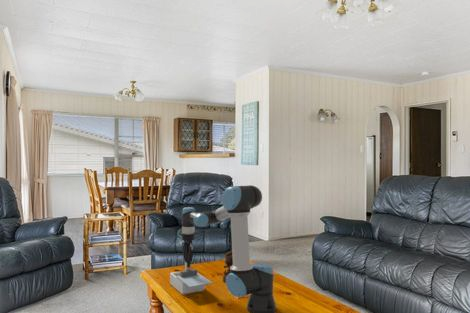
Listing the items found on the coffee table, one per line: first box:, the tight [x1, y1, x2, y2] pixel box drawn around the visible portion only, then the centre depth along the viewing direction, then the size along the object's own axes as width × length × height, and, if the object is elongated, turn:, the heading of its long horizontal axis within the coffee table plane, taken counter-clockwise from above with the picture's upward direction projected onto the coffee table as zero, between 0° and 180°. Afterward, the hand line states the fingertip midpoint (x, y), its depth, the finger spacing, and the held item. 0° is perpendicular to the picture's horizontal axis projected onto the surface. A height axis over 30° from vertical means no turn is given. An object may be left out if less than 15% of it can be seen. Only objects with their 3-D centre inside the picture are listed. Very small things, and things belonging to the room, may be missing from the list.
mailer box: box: [169, 271, 206, 296], centre depth 219 cm, size 20×14×7 cm
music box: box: [221, 249, 233, 284], centre depth 233 cm, size 15×11×20 cm
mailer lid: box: [176, 268, 213, 288], centre depth 210 cm, size 20×14×4 cm
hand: (187, 272), depth 218 cm, fingers closed
